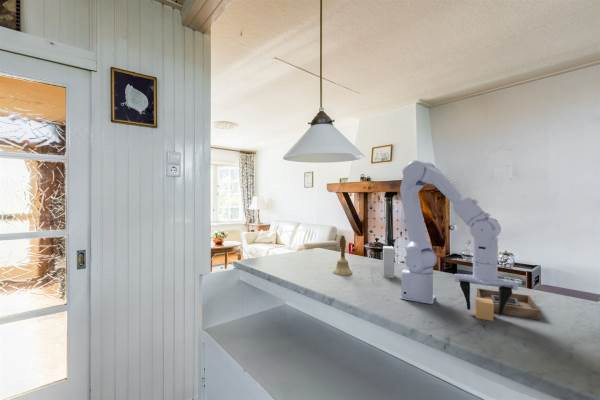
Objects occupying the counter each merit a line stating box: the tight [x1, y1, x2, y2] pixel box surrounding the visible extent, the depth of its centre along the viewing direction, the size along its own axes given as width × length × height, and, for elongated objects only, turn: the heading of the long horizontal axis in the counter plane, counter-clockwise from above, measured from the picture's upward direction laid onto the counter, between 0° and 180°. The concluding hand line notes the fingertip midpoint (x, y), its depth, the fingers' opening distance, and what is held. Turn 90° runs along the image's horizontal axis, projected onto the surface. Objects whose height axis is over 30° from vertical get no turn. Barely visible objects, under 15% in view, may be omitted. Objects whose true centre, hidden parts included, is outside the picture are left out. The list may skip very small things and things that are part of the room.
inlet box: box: [476, 287, 541, 321], centre depth 88 cm, size 14×14×2 cm
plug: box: [474, 296, 495, 322], centre depth 80 cm, size 4×4×4 cm
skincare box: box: [381, 245, 396, 279], centre depth 120 cm, size 6×4×12 cm
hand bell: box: [332, 235, 353, 276], centre depth 125 cm, size 8×8×16 cm
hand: (484, 311), depth 80 cm, fingers open, 7 cm apart
